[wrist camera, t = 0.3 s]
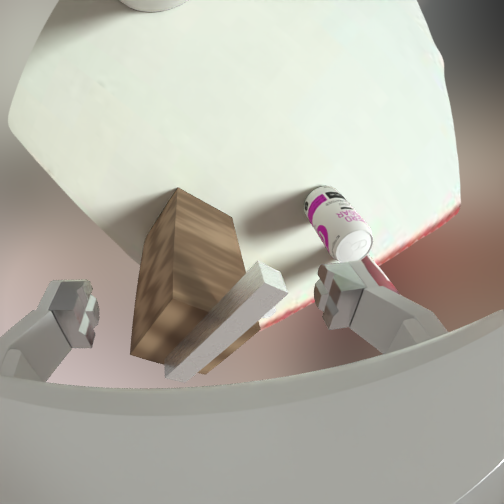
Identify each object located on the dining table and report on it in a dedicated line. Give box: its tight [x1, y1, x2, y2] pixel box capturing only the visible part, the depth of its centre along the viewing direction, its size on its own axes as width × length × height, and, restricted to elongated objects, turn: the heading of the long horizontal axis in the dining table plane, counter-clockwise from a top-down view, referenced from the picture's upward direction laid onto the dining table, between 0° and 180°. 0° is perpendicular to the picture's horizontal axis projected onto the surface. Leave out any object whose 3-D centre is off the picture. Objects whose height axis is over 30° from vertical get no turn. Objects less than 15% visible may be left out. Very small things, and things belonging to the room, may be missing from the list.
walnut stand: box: [130, 188, 260, 374], centre depth 44 cm, size 13×12×26 cm
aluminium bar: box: [164, 261, 288, 383], centre depth 31 cm, size 20×3×3 cm, turn 141°
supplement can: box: [304, 186, 373, 263], centre depth 50 cm, size 8×8×15 cm
